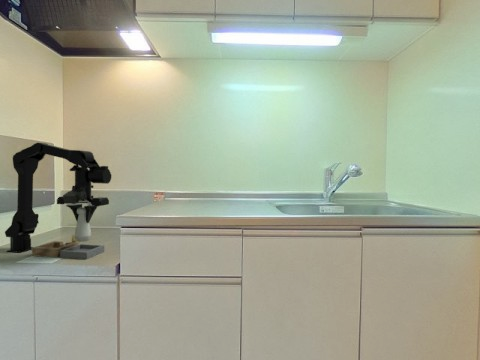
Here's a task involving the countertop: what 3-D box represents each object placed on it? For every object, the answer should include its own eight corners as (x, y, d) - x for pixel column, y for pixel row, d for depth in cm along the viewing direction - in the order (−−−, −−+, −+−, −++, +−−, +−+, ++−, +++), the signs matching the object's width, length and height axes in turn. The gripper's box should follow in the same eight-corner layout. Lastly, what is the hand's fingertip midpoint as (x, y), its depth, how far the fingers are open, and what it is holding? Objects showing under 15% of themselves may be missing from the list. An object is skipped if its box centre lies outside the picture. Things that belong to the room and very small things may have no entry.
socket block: (32, 255, 116) (32, 247, 116) (54, 248, 128) (54, 241, 127) (57, 257, 115) (57, 249, 115) (77, 249, 126) (77, 242, 126)
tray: (60, 257, 115) (60, 250, 115) (79, 249, 126) (79, 243, 126) (86, 259, 113) (86, 252, 113) (104, 251, 124) (104, 245, 124)
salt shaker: (87, 238, 123) (87, 206, 123) (93, 240, 120) (94, 207, 119) (71, 240, 119) (72, 207, 118) (78, 243, 115) (78, 208, 115)
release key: (59, 249, 125) (59, 238, 125) (74, 244, 134) (74, 234, 134) (66, 250, 125) (66, 239, 125) (80, 244, 134) (80, 234, 134)
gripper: (45, 183, 112) (45, 225, 112) (92, 184, 109) (91, 227, 110) (67, 182, 123) (67, 220, 123) (109, 183, 120) (109, 222, 121)
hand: (83, 222), depth 119 cm, fingers closed on salt shaker, 3 cm apart
